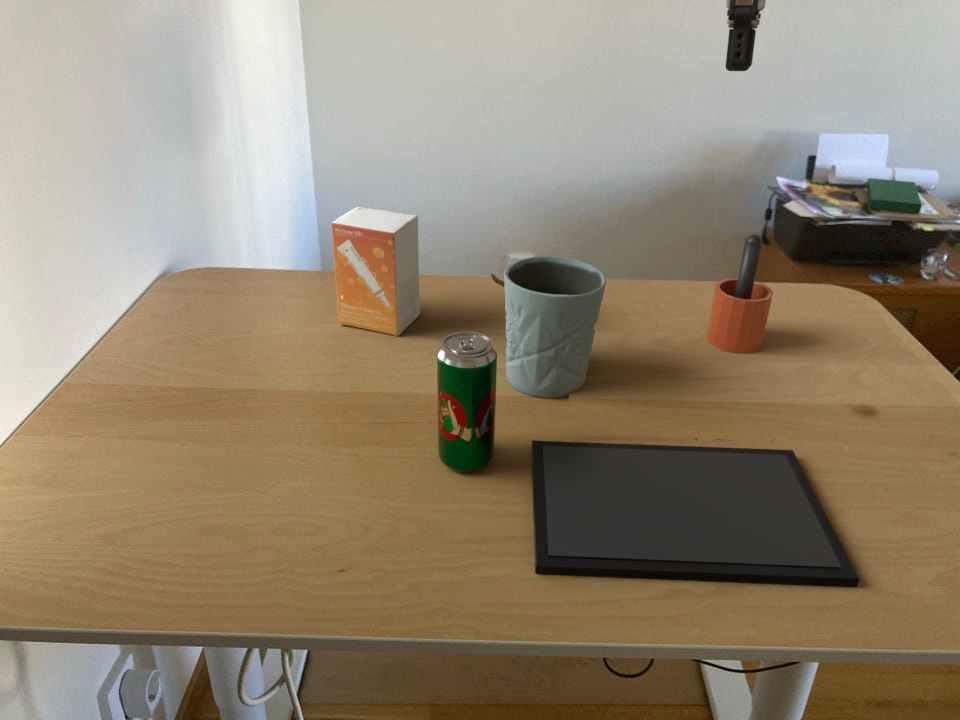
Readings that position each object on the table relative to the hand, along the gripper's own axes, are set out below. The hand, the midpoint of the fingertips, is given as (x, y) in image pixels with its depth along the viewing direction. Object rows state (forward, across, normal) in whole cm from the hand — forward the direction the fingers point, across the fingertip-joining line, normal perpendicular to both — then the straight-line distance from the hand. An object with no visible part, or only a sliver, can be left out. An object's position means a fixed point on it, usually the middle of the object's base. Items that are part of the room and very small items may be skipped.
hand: (738, 69), depth 78 cm
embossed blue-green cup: (+31, -12, +16) cm, 37 cm away
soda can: (+33, -29, +19) cm, 48 cm away
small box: (+29, -7, +38) cm, 48 cm away
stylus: (+30, +3, -3) cm, 30 cm away
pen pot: (+30, +3, -3) cm, 30 cm away
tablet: (+34, -29, 0) cm, 45 cm away
